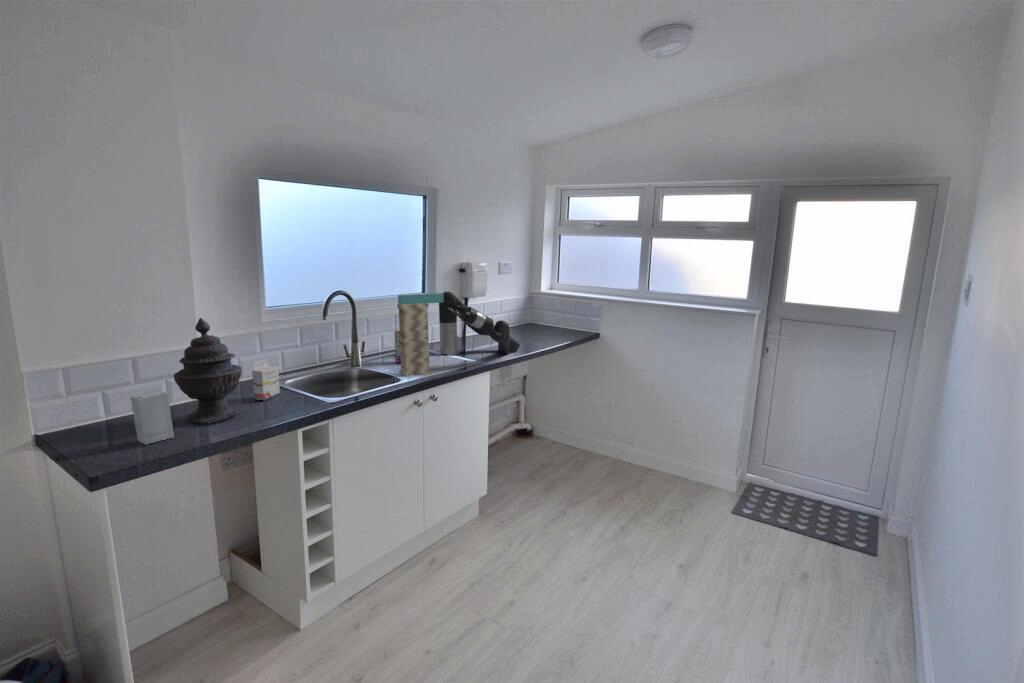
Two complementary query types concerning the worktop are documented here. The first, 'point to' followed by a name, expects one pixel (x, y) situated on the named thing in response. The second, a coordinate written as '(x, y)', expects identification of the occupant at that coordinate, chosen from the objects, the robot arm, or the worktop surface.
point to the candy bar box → (397, 346)
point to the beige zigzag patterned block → (414, 339)
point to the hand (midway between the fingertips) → (445, 303)
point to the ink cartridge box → (265, 379)
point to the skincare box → (152, 416)
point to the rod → (420, 298)
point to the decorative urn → (208, 376)
